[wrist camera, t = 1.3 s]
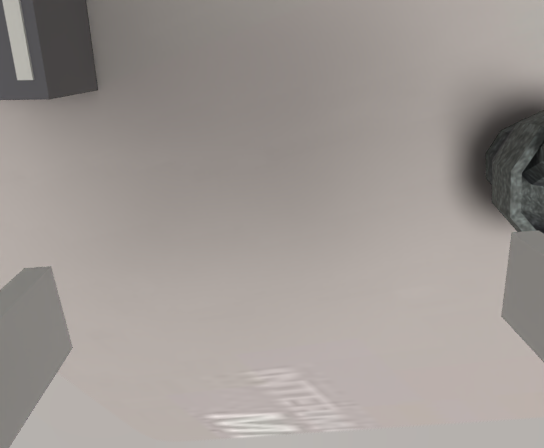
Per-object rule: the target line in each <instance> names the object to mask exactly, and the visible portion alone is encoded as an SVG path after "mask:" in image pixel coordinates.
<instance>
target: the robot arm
mask: <svg viewBox="0 0 544 448" xmlns="http://www.w3.org/2000/svg"><path fill="white" fill-rule="evenodd" d="M501 316H502V317H503V319H504V320H505V321H506V322H507V323H508V324H509V325H510V326H511V327H512V328H513V329H514V331H515V332H516V333H517V334H518V335H519V336H520V337H521V338H522V339H523V340H524V341H525V342H526V344H527V345H528V346H529V347H530V348H531V349H532V350H533V351H534V352H535V353H536V354H537V356H538V357H539V358H540V359H541V360H542V361H543V362H544V234H543V233H542V232H540V231H539V230H538V231H525V232H512V234H511V242H510V250H509V259H508V267H507V275H506V283H505V291H504V299H503V307H502V315H501ZM72 348H73V347H72V344H71V340H70V336H69V332H68V328H67V325H66V321H65V317H64V313H63V310H62V306H61V302H60V298H59V295H58V291H57V287H56V283H55V279H54V276H53V272H52V268H51V266H50V267H36V268H24V269H23V270H22V271H21V272H20V273H19V274H17V275H16V276H15V277H14V278H13V279H12V280H11V281H10V282H9V283H8V284H7V285H5V286H4V287H3V288H2V289H1V290H0V448H9V447H10V445H11V444H12V442H13V441H14V439H15V438H16V436H17V434H18V433H19V431H20V430H21V428H22V427H23V425H24V423H25V422H26V420H27V419H28V417H29V416H30V414H31V412H32V411H33V409H34V408H35V406H36V404H37V403H38V401H39V400H40V398H41V397H42V395H43V393H44V392H45V390H46V389H47V387H48V386H49V384H50V383H51V381H52V379H53V378H54V376H55V375H56V373H57V372H58V370H59V368H60V367H61V365H62V364H63V362H64V361H65V359H66V357H67V356H68V354H69V353H70V351H71V350H72Z"/></svg>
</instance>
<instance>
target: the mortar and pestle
mask: <svg viewBox="0 0 544 448" xmlns="http://www.w3.org/2000/svg"><path fill="white" fill-rule="evenodd" d="M486 179H487V180H488V181H489V182H490V184H491V185H492V203H493V204H494V205H495V207H496V208H497V209H498V210H499V211H500V212H501V213H502V215H503V216H504V217H505V218H506V219H507V220H508V221H509V223H510V224H511V225H512V226H513V227H514V228H515V229H516V231H517V232H525V231H538V230H539V231H540V232H542V233H543V234H544V110H543V111H541V112H539V113H537V114H535V115H533V116H531V117H529V118H526V119H524V120H522V121H520V122H518V123H515V124H513V125H511V126H509V127H507V128H505V129H503V130H501V131H500V133H499V134H498V136H497V137H496V139H495V140H494V142H493V144H492V145H491V147H490V148H489V150H488V151H487V153H486Z"/></svg>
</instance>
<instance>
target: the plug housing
mask: <svg viewBox="0 0 544 448" xmlns="http://www.w3.org/2000/svg"><path fill="white" fill-rule="evenodd" d="M95 90H98V87H97V80H96V73H95V65H94V58H93V50H92V43H91V35H90V28H89V20H88V13H87V6H86V0H0V100H30V99H53V98H58V97H64V96H69V95H74V94H79V93H85V92H90V91H95Z"/></svg>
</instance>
